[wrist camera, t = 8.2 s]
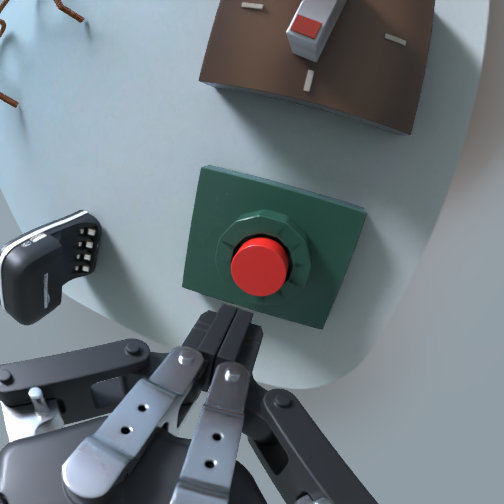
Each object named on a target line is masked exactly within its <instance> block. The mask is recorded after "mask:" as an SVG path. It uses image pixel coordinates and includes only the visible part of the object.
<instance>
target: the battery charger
mask: <svg viewBox="0 0 504 504" xmlns="http://www.w3.org/2000/svg"><path fill="white" fill-rule="evenodd" d="M100 236H101V225H100V223H99V222H98V220H97V219H96V218H94V217H93V216H92V215H90V214H89V213H88V212H87V211H83V210H79V211H77V212H75V213H73V214H70V215H68V216H66V217H64V218H61V219H59V220H56V221H53V222H50V223H48V224H45V225H43V226H40V227H38V228H35V229H33V230H31V231H29V232H26V233H24V234H22V235H20V236H19V237H17V238H15V239H13V240H11V241H9V242H8V243H6V244H5V245H4V246H3V247H2V248H1V249H0V305H1V306H2V308H3V310H4V311H5V312H6V313H7V314H9V315H11V316H12V317H13V318H14V319H15V320H16V321H18V322H19V323H20V324H23V325H31V324H34V323H35V322H37V321H39V320H40V319H41V318H43V317H44V316H46V315H47V314H49V313H50V312H51V311H53V310H54V309H55V308H56V307H57V306H58V305H60V303H61V295H62V286H63V285H64V284H65V283H67V282H68V281H70V280H72V279H75V278H78V277H82V276H86V275H89V274H91V273H92V272H93V271H94V269H95V265H96V259H97V253H98V248H99V242H100Z"/></svg>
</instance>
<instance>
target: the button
mask: <svg viewBox="0 0 504 504" xmlns="http://www.w3.org/2000/svg"><path fill="white" fill-rule="evenodd" d="M288 266H289V259H288V255H287V253H286V251H285V249H284V248H283V247H282V245H281V244H279V243H278V242H277V241H275V240H273V239H271V238H268V237H255V238H251V239H249V240H247V241H246V242H245V243H244V244H243V245H242V246H241V247H240V249H239V250H238V252H237V253H236V255H235V256H234V258H233V260H232V263H231V273H232V277H233V279H234V281H235V283H236V284H237V285H238V287H239V288H241V289H242V290H243V291H245V292H246V293H248V294H251V295H254V296H267V295H270V294H273V293H275V292H276V291H278V290H279V289H280V288H281V287H282V285H283V284H284V282H285V279H286V275H287V271H288Z"/></svg>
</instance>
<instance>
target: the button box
mask: <svg viewBox="0 0 504 504" xmlns="http://www.w3.org/2000/svg"><path fill="white" fill-rule="evenodd" d="M366 215H367V213H366V211H365V210H364V208H362V207H359V206H356V205H353V204H350V203H347V202H344V201H341V200H337V199H334V198H331V197H328V196H324V195H321V194H317V193H314V192H311V191H307V190H304V189H300V188H297V187H293V186H290V185H286V184H282V183H279V182H275V181H271V180H268V179H264V178H260V177H256V176H252V175H248V174H244V173H240V172H236V171H232V170H228V169H224V168H220V167H215V166H211V165H208V166H204V167H201V171H200V176H199V181H198V187H197V192H196V198H195V204H194V210H193V216H192V222H191V228H190V234H189V241H188V248H187V254H186V261H185V268H184V276H183V283H182V287H184V288H187V289H190V290H192V291H195V292H199V293H202V294H205V295H208V296H211V297H214V298H217V299H220V300H223V301H226V302H229V303H233V304H236V305H239V306H242V307H245V308H249V309H252V310H255V311H259V312H262V313H265V314H269V315H272V316H275V317H279V318H282V319H286V320H289V321H293V322H296V323H300V324H303V325H307V326H310V327H314V328H318V329H321V330H322V329H323V327H324V325H325V322H326V320H327V318H328V315H329V313H330V310H331V308H332V306H333V303H334V301H335V298H336V296H337V293H338V291H339V288H340V286H341V283H342V281H343V278H344V276H345V273H346V270H347V268H348V265H349V263H350V260H351V257H352V254H353V252H354V249H355V246H356V243H357V241H358V238H359V235H360V232H361V229H362V226H363V224H364V221H365V218H366ZM255 237H268V238H271V239H273V240H275V241H277V242H278V243H279V244H281V245H282V247H283V248H284V249H285V251H286V253H287V255H288V259H289V266H288V271H287V275H286V279H285V282H284V284H283V285H282V287H281V288H280V289H279V290H278V291H276V292H275V293H273V294H270V295H267V296H254V295H251V294H248V293H246V292H245V291H243V290H242V289H241V288H239V287H238V285H237V284H236V283H235V281H234V279H233V277H232V273H231V263H232V260H233V258H234V256H235V255H236V253H237V252H238V250H239V249H240V247H241V246H242V245H243V244H244V243H245V242H246V241H247V240H249V239H251V238H255Z"/></svg>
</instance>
